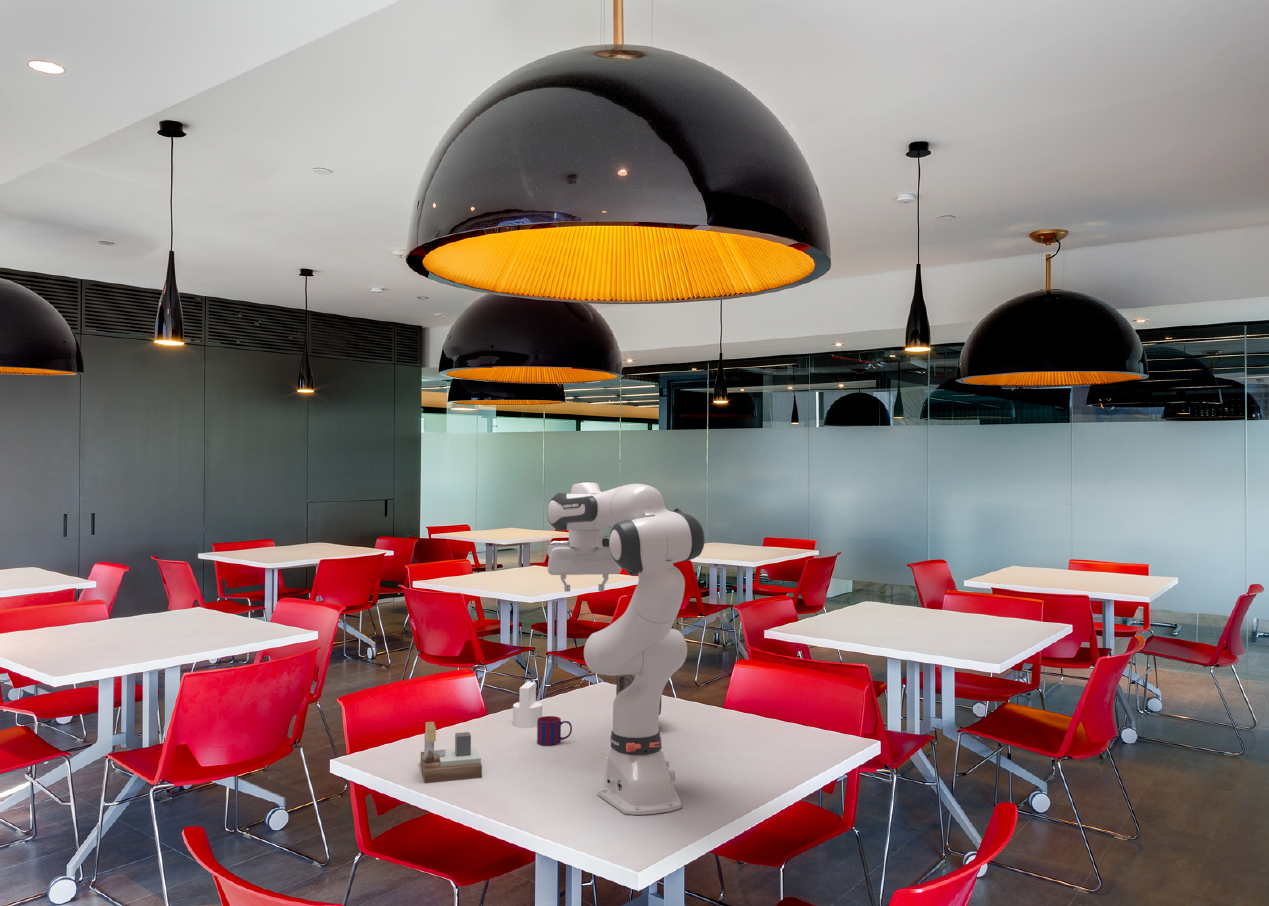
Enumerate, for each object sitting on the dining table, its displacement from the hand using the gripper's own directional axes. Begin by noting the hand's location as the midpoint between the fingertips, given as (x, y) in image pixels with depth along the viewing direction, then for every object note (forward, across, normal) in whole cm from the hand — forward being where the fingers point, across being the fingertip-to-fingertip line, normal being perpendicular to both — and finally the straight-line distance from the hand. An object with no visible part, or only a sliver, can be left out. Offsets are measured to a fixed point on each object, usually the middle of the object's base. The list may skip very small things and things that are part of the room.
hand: (584, 591), depth 233 cm
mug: (+45, -6, +15) cm, 48 cm away
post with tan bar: (+42, -39, -10) cm, 58 cm away
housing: (+45, -35, -5) cm, 57 cm away
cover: (+42, -33, -6) cm, 54 cm away
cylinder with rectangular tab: (+45, -13, +36) cm, 59 cm away
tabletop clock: (+45, +20, +25) cm, 55 cm away
